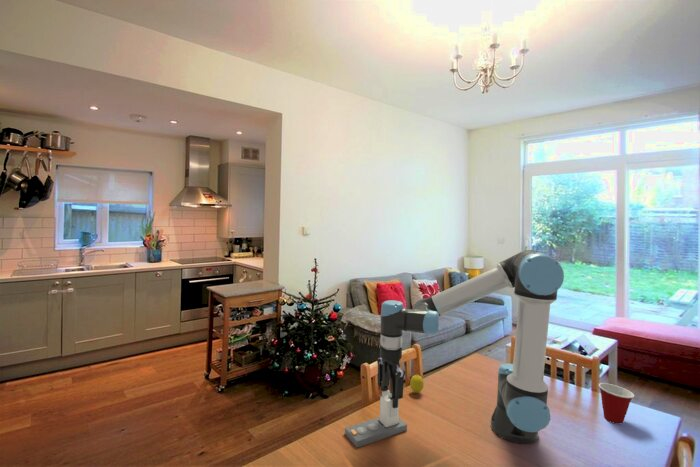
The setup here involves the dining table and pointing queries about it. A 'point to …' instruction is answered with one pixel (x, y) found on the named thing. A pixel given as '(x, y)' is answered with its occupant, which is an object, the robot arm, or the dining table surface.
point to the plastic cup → (615, 402)
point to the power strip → (372, 431)
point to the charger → (387, 411)
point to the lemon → (416, 383)
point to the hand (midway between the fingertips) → (389, 412)
